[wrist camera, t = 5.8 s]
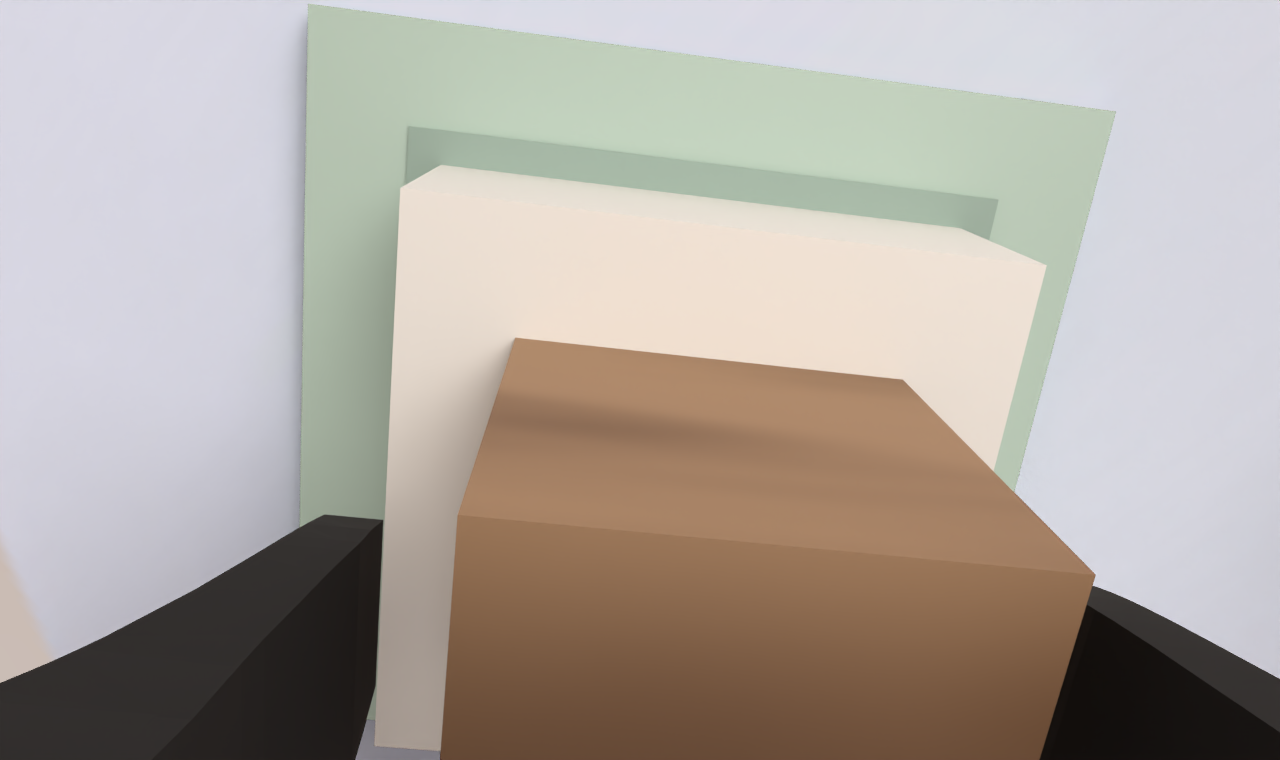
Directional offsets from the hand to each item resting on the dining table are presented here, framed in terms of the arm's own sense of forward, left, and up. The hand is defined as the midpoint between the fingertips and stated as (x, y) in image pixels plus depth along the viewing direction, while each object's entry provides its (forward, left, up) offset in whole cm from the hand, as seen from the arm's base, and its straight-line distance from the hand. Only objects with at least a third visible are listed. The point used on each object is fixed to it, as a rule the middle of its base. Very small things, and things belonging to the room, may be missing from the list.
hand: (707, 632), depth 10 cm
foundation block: (0, 0, -6) cm, 6 cm away
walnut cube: (0, 0, -3) cm, 3 cm away
